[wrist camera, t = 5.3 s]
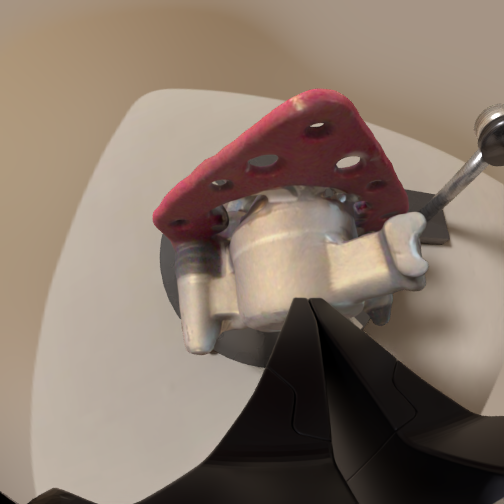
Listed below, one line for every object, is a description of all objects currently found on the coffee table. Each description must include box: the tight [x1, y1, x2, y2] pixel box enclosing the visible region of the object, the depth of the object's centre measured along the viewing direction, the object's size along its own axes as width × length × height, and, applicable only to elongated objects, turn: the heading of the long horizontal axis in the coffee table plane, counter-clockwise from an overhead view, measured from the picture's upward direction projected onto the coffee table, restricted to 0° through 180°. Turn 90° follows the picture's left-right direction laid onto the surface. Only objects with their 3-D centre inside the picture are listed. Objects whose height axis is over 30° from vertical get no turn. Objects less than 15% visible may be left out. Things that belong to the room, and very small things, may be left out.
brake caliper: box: [153, 89, 429, 355], centre depth 12 cm, size 11×11×12 cm
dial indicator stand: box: [404, 104, 504, 245], centre depth 12 cm, size 4×4×12 cm
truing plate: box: [160, 155, 370, 367], centre depth 17 cm, size 14×14×1 cm
